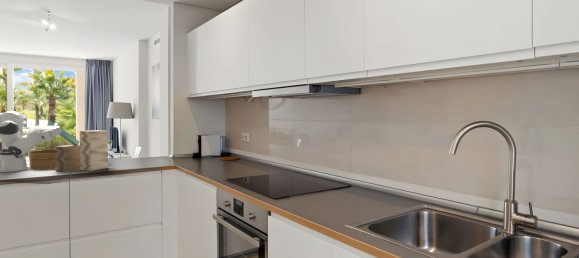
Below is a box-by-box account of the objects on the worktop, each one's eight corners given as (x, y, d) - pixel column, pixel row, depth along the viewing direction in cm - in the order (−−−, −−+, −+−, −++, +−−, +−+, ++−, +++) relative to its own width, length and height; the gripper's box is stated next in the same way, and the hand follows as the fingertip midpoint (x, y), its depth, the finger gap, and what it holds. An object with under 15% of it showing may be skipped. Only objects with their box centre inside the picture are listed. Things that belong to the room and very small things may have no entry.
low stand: (55, 170, 222) (55, 146, 221) (74, 167, 235) (73, 144, 235) (65, 171, 220) (65, 146, 219) (83, 168, 233) (83, 145, 233)
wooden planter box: (55, 169, 229) (55, 152, 229) (19, 169, 230) (19, 152, 230) (79, 164, 254) (78, 149, 254) (46, 164, 255) (46, 149, 254)
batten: (46, 125, 212) (48, 121, 213) (74, 145, 231) (76, 141, 233) (50, 125, 211) (52, 121, 213) (77, 145, 231) (79, 141, 232)
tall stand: (80, 170, 225) (79, 131, 224) (97, 167, 239) (96, 130, 238) (91, 170, 223) (90, 131, 222) (107, 167, 237) (107, 130, 236)
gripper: (26, 140, 209) (44, 128, 220) (52, 140, 204) (70, 128, 215) (21, 131, 206) (39, 119, 217) (47, 132, 200) (65, 120, 212)
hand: (55, 124), depth 216 cm, fingers closed on batten, 3 cm apart
